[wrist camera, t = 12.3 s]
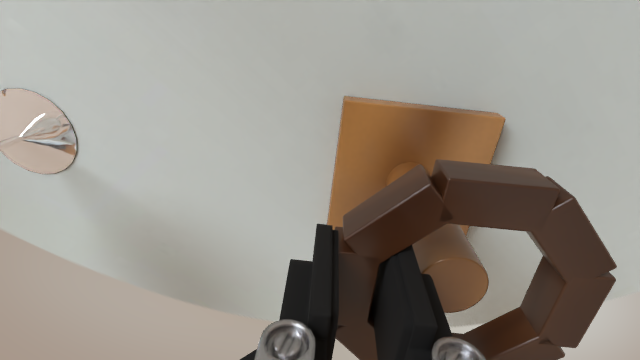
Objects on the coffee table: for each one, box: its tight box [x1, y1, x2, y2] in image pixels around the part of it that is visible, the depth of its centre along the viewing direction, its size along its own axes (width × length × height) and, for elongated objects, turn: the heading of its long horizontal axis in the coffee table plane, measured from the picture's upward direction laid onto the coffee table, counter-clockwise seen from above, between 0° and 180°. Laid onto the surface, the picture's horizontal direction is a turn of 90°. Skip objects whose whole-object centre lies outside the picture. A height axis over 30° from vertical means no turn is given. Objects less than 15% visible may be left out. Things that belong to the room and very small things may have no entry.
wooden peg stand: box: [327, 96, 505, 313], centre depth 16 cm, size 8×8×9 cm
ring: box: [335, 159, 617, 360], centre depth 12 cm, size 8×8×1 cm
